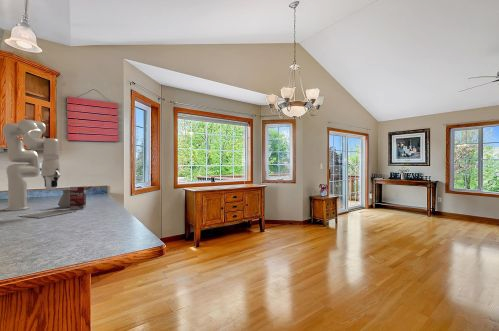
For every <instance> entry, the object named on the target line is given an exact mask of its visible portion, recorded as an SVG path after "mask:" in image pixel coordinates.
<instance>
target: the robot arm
mask: <svg viewBox="0 0 499 331" xmlns="http://www.w3.org/2000/svg"><path fill="white" fill-rule="evenodd" d="M46 130H47V127H46V124H45V123H44V122H42V121H39V120H32V119H21V120H19V121H18V122H17V123H13V122H12V123H11V122H10V123H9V122H8V123H6V124H4V126H3V127H2V135H3V137H4V139H5V141H6V150H7V157H8V161H10V162H11V163H13V164H10V165H8V166H7V167H6V175H7V176H6V177H7V188H8V190H7V204H5V205H6V207H5V208H4V211H7V212H9V211H12V212H13V211H23V210H24V211H25V210H28V209H30V207H31V206H28V201H27V200H28V199H27V198H28V194H27V192H28V184H27V182H26V180H24V178H36V177H38V176H39V175H40V174H41V177H42V178H43V181H44V188H46V176H52V181H51V187H56V188H57V187H58V181H59V178H60V177H61V168H60V167H61V166H60V161H59V160H60V156H59V153H60V151H59V148H60V144H59V143H60V142H59V139H57V138H49V137H48V138H41V137H42V135H43V134H44V133H45V132H46ZM20 137H22V139H21V138H20ZM25 147H26V148H27V149H25ZM37 151H43V158H42V159H43V160H42V162H41V167H40V162H39V161H40V159H39V155H38V153H37ZM25 163H26V164H25ZM40 168H41V170H40ZM54 177H55V178H54Z"/></svg>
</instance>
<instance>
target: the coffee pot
mask: <svg viewBox="0 0 499 331" xmlns="http://www.w3.org/2000/svg"><path fill="white" fill-rule="evenodd" d="M90 188H91V189H93V186H87V187H86V190H89V189H90ZM57 202H58V203H57V205H58V206H59V207H60V208H61V209H68V208H69V209H70V189H62V195H61V197H60V198H59V201H57Z"/></svg>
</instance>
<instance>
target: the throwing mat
mask: <svg viewBox="0 0 499 331" xmlns="http://www.w3.org/2000/svg"><path fill="white" fill-rule="evenodd" d="M72 212H73V213H77V211H76V210H67V209H66V210H64V209H50V210H46V211H45V210H44V211H39V212H33V213H27V214H19V215H17V216H18V218H19V217H20V218H30V219H45V217H46V218H51V217H56V216H60V215H61V216H62V215H67V214H73V213H72Z"/></svg>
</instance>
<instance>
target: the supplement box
mask: <svg viewBox="0 0 499 331" xmlns="http://www.w3.org/2000/svg"><path fill="white" fill-rule="evenodd" d="M86 188H87V186H70V187H69V190H70V208H69V211H72V210H85V209H86V208H87V189H86Z"/></svg>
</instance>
